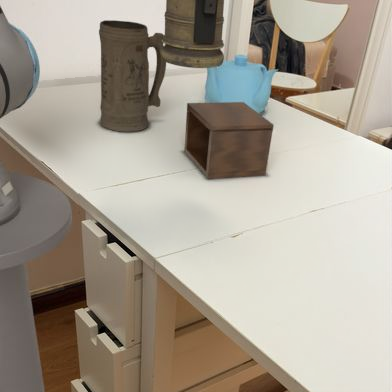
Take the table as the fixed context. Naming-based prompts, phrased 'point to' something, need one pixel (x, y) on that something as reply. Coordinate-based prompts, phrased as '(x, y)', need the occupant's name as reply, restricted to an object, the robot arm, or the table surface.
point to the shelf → (227, 139)
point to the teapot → (239, 83)
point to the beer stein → (128, 75)
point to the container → (190, 37)
